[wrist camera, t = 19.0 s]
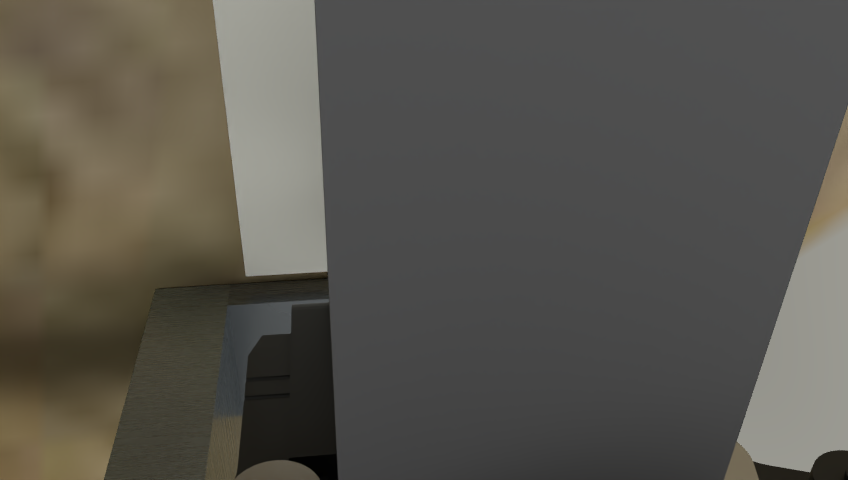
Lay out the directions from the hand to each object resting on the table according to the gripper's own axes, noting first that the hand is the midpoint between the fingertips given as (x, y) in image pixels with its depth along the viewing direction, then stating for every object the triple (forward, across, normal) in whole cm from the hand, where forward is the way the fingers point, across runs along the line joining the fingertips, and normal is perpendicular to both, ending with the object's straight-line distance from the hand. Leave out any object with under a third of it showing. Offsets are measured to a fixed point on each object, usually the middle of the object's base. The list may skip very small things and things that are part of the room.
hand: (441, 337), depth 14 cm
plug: (0, 0, -3) cm, 3 cm away
